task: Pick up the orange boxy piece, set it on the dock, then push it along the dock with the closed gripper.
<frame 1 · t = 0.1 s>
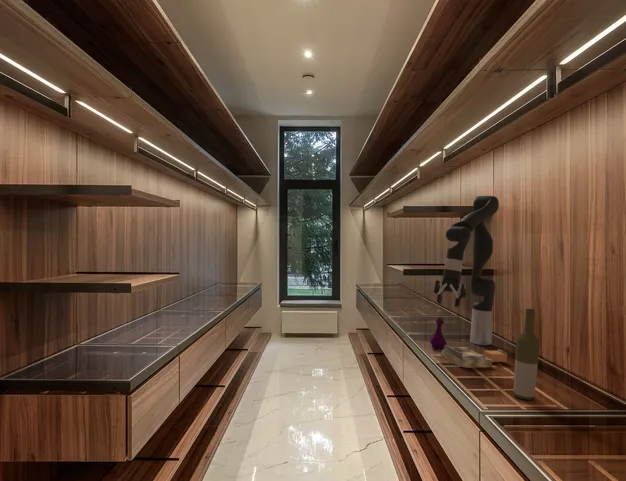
hand: (447, 305, 180), 22 cm above the table, tool pointing down, fingers open, 8 cm apart
perfume bottle: (437, 348, 190), on the table
bottle: (523, 397, 135), on the table
dock: (465, 361, 171), on the table
orange boxy piece: (494, 361, 174), on the table
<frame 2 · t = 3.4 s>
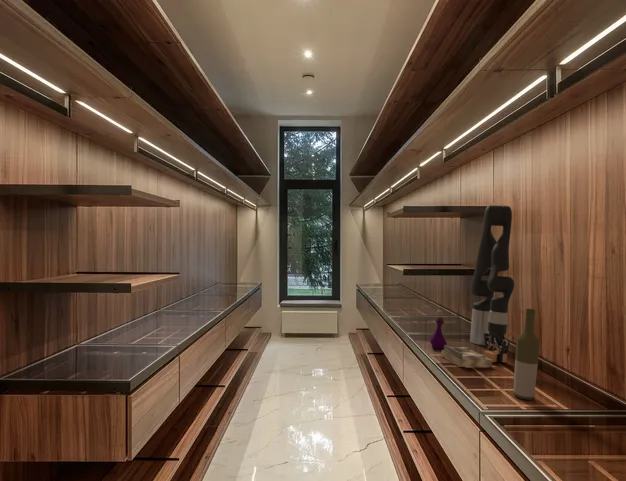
hand: (494, 360, 174), 1 cm above the table, tool pointing down, fingers closed on orange boxy piece, 5 cm apart
orange boxy piece: (494, 361, 174), on the table, touching gripper
everything else where it was.
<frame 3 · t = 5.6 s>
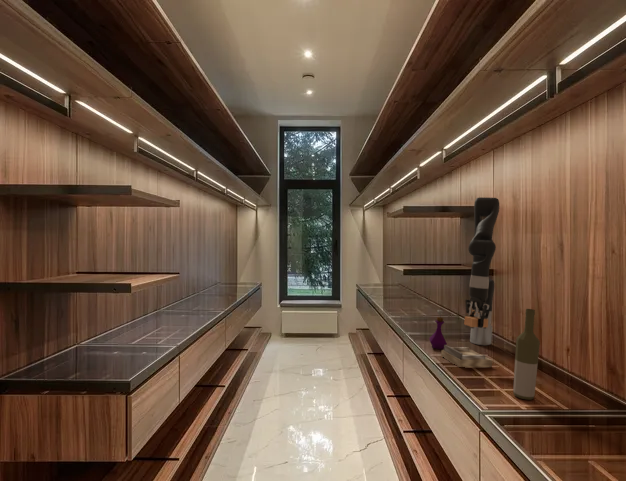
hand: (475, 325, 171), 16 cm above the table, tool pointing down, fingers closed on orange boxy piece, 5 cm apart
orange boxy piece: (475, 327, 171), point 15 cm above the table, touching gripper
everything else where it was.
when the fingers open (5 cm above the table, at t = 8.1 s): orange boxy piece drops 1 cm, resting on dock.
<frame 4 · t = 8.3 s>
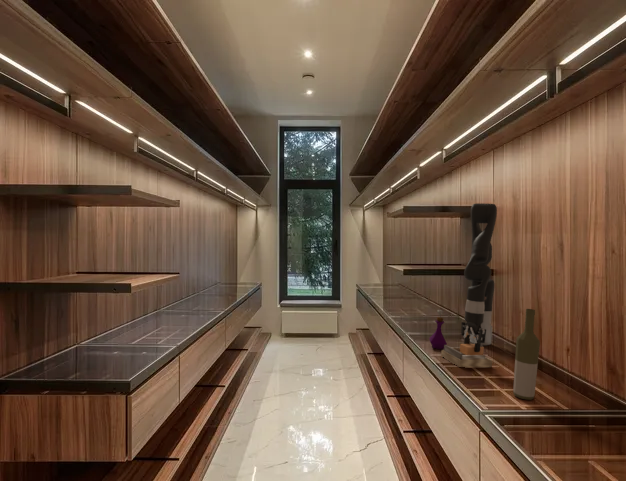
hand: (471, 349, 171), 5 cm above the table, tool pointing down, fingers open, 6 cm apart
orange boxy piece: (471, 354, 171), point 3 cm above the table, touching dock
everything else where it was.
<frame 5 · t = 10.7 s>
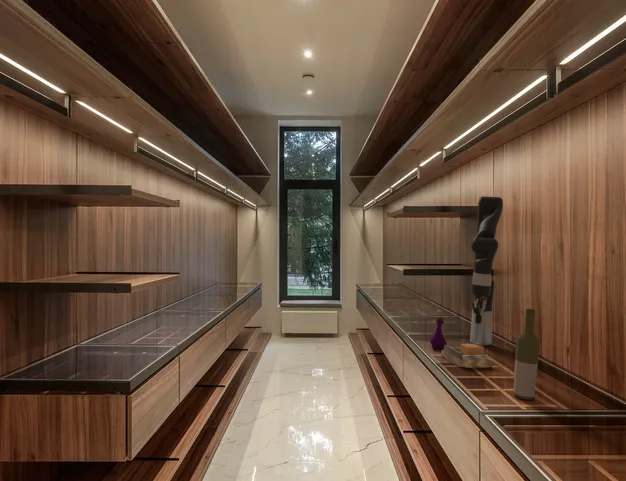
hand: (478, 323, 173), 16 cm above the table, tool pointing down, fingers closed
nothing on the table moved.
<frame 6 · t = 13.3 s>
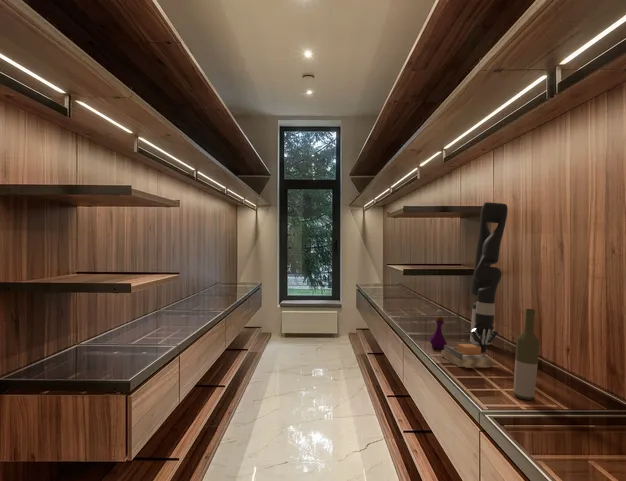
hand: (482, 352, 172), 4 cm above the table, tool pointing down, fingers closed
orange boxy piece: (468, 354, 171), point 3 cm above the table, touching gripper
everything else where it was.
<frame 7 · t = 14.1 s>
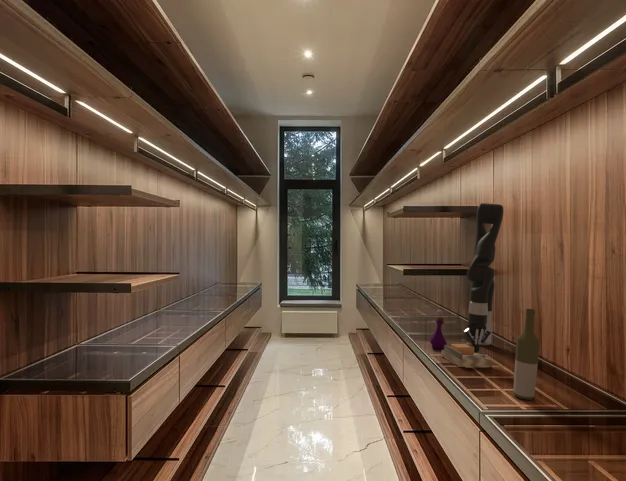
hand: (475, 352, 172), 4 cm above the table, tool pointing down, fingers closed
orange boxy piece: (461, 354, 170), point 3 cm above the table, touching dock, gripper
everything else where it was.
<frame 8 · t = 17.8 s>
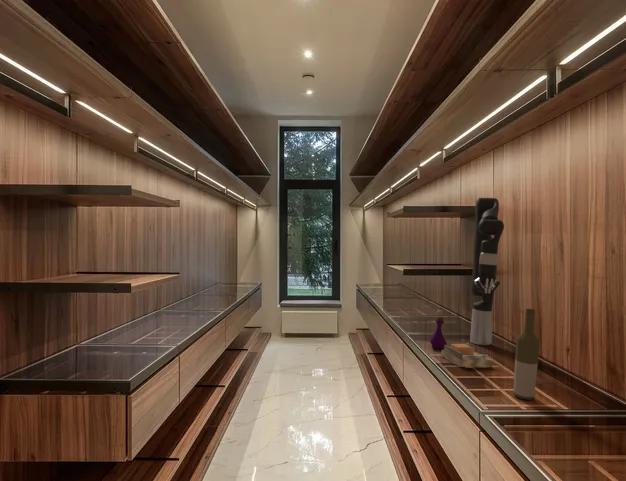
hand: (485, 301, 181), 25 cm above the table, tool pointing down, fingers closed
orange boxy piece: (461, 354, 170), point 3 cm above the table, touching dock
everything else where it was.
at the end: orange boxy piece 0.1 cm from the target spot on the dock, point 3.0 cm above the dock's base; orange boxy piece tilted 0°; the gripper is holding nothing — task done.
